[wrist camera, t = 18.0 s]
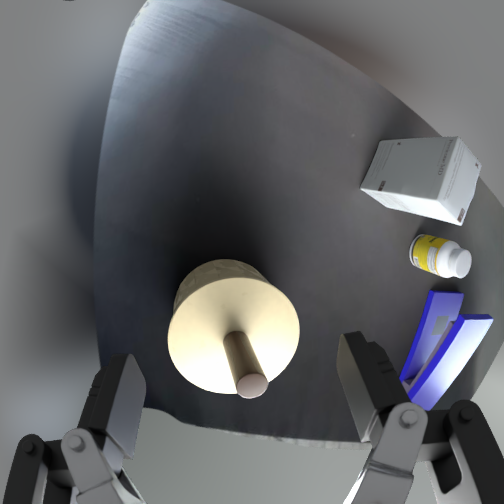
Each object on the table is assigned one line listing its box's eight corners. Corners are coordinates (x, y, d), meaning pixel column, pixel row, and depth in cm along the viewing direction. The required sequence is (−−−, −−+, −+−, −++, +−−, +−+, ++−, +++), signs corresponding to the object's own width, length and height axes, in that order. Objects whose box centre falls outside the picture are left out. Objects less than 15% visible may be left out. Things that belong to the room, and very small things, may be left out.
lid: (153, 371, 29) (149, 426, 21) (192, 254, 28) (197, 284, 19) (266, 396, 33) (289, 446, 25) (315, 296, 31) (357, 331, 23)
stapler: (461, 292, 48) (497, 308, 39) (414, 409, 53) (440, 433, 44) (426, 289, 45) (466, 309, 36) (376, 419, 50) (402, 448, 41)
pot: (163, 334, 37) (159, 371, 29) (193, 244, 35) (196, 262, 27) (250, 358, 40) (266, 395, 32) (286, 277, 39) (312, 300, 31)
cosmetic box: (378, 140, 38) (457, 129, 23) (406, 162, 39) (484, 161, 25) (357, 191, 38) (436, 199, 24) (387, 211, 40) (465, 227, 26)
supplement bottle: (433, 235, 43) (477, 247, 34) (426, 267, 44) (468, 284, 35) (412, 230, 42) (457, 242, 33) (404, 265, 43) (448, 282, 34)
